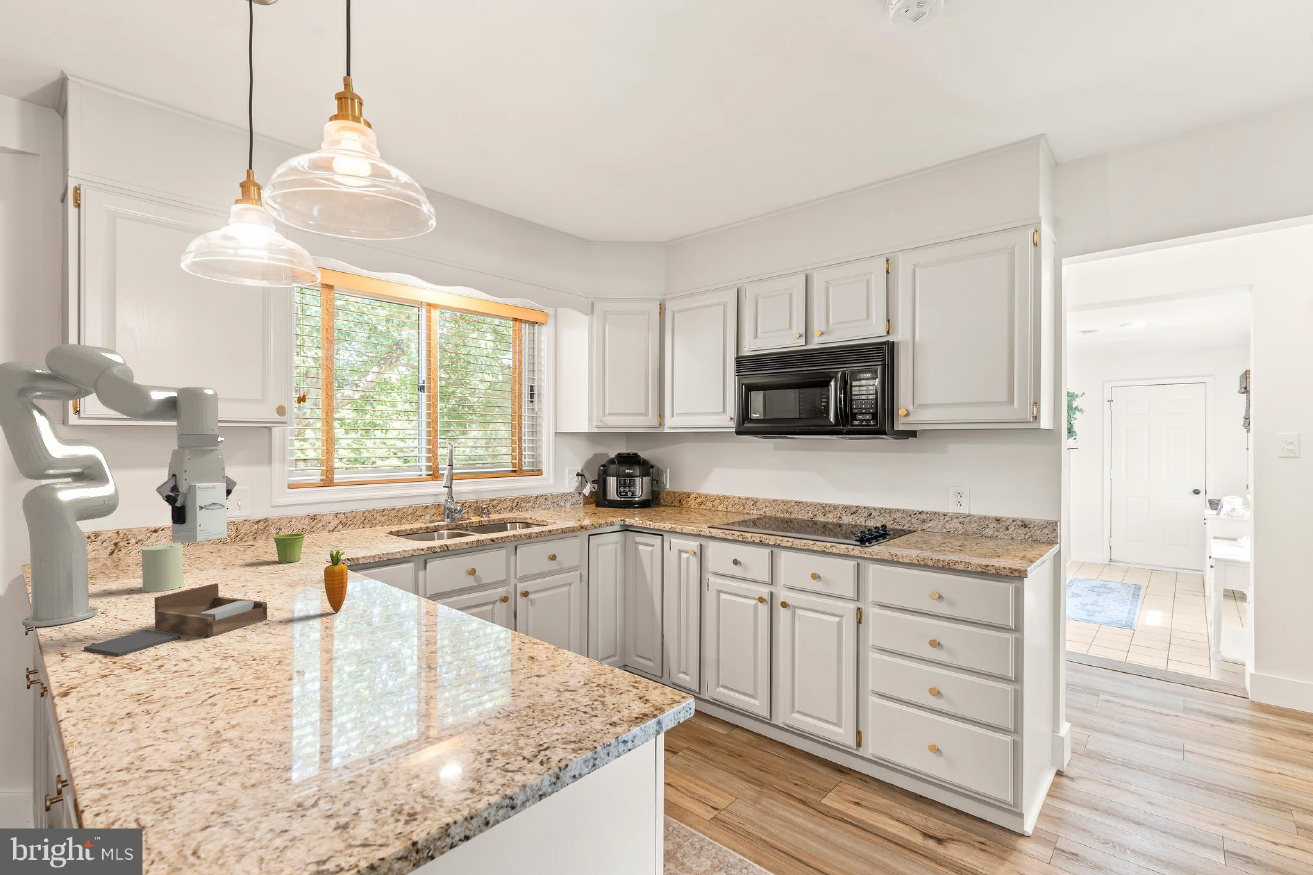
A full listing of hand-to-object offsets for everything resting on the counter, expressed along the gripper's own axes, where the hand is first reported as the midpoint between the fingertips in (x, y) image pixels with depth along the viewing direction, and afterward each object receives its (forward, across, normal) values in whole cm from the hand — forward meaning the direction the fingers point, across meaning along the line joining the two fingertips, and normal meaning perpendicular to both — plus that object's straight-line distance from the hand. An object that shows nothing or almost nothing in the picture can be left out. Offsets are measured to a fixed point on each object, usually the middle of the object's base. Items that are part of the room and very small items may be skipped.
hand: (198, 520), depth 139 cm
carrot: (+23, -16, +23) cm, 36 cm away
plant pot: (+24, -56, -42) cm, 73 cm away
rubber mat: (+23, +14, +1) cm, 27 cm away
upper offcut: (+21, 0, +9) cm, 23 cm away
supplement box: (+5, 0, +1) cm, 5 cm away
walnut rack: (+23, 0, +4) cm, 23 cm away
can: (+24, -19, -44) cm, 53 cm away
